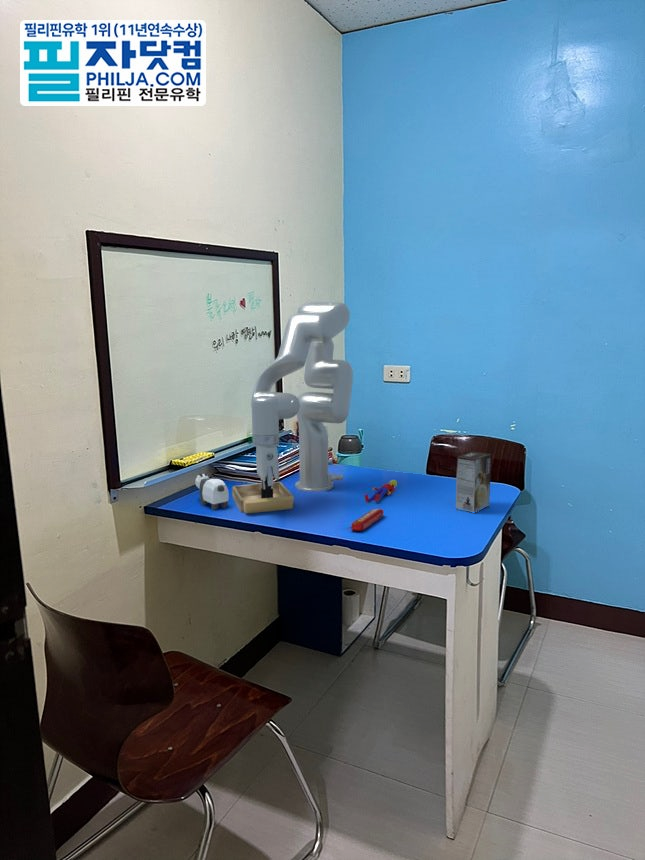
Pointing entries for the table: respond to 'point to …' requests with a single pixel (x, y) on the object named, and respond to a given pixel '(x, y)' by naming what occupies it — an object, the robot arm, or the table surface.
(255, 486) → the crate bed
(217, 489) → the giant panda
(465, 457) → the coffee box
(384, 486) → the character figure
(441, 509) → the table surface
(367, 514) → the candy bar
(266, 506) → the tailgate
